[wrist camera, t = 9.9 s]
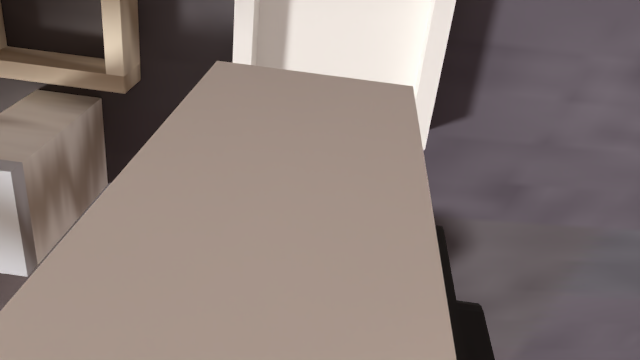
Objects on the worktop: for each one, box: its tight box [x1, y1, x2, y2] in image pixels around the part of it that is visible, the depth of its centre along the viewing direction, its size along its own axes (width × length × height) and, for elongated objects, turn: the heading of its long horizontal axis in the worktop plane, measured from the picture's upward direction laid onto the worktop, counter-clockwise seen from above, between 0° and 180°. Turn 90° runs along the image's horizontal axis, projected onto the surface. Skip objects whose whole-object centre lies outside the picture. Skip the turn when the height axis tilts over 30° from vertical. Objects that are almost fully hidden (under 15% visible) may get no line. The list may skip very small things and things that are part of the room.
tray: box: [233, 0, 456, 150], centre depth 31 cm, size 13×11×2 cm
